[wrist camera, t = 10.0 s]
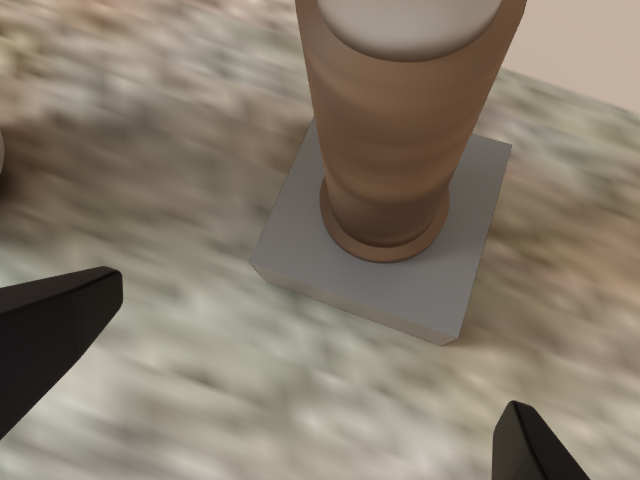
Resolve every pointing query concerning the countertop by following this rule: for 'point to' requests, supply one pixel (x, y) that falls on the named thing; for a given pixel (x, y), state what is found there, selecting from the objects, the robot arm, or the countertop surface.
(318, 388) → the countertop surface
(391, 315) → the slate block
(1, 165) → the grey bottle
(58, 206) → the countertop surface
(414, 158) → the pepper mill
